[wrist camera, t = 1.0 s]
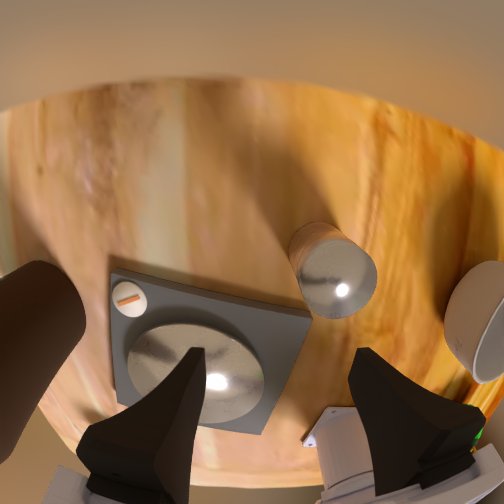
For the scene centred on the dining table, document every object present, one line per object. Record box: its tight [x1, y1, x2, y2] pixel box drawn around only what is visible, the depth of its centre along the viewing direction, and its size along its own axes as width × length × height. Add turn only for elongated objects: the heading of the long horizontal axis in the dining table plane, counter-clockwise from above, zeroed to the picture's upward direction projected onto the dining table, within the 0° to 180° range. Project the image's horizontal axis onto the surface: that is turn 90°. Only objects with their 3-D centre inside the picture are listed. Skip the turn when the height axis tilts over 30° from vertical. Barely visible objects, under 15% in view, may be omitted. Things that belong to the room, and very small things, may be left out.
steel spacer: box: [288, 222, 377, 319], centre depth 18 cm, size 4×4×6 cm
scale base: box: [111, 267, 313, 435], centre depth 23 cm, size 16×16×2 cm
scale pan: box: [127, 321, 264, 423], centre depth 22 cm, size 12×12×1 cm
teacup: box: [444, 260, 504, 384], centre depth 18 cm, size 14×11×8 cm
